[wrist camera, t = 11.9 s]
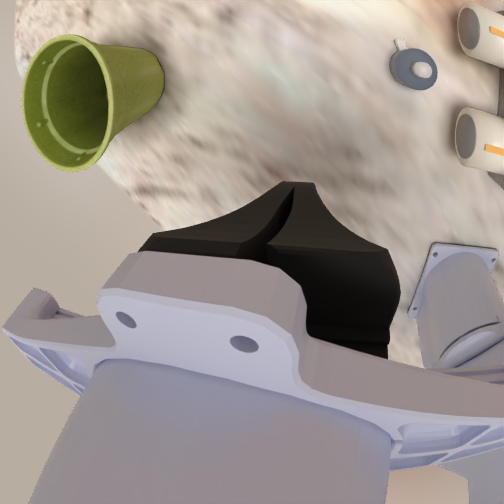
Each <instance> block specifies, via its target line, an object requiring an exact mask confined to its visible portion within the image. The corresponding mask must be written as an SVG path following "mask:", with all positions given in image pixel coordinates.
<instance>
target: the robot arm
mask: <svg viewBox="0 0 504 504" xmlns="http://www.w3.org/2000/svg"><path fill="white" fill-rule="evenodd" d="M435 252H437V253H436V254H434V253H435ZM498 257H499V252H498V250H496V249H488V248H479V247H470V246H461V245H451V244H441V243H435V244H433V245H432V247H431V250H430V253H429V256H428V259H427V262H426V265H425V268H424V271H423V274H422V277H421V280H420V283H419V285H418V288H417V291H416V293H415V296H414V298H413V301H412V304H411V306H410V308H409V311H408V317H410V318H416V321H417V327H418V333H419V340H420V347H421V354H422V361H423V364H424V367H425V369H423V368H419V367H415V366H411V365H407V364H403V363H399V362H395V361H392V360H388V348H387V345H388V344H389V342H390V330H389V328H390V325H391V323H392V320H393V317H394V315H395V312H396V310H397V307H398V304H399V300H400V294H401V291H400V283H399V278H398V275H397V271H396V269H395V266H394V263H393V261H392V259H391V256H390V254H389V252H388V250H387V249H386V248H383V247H381V246H378V245H376V244H374V243H371V242H369V241H367V240H365V239H363V238H361V237H360V236H358V235H356V234H355V233H353V232H351V231H350V230H349V229H347V228H346V227H345V226H343V225H342V224H341V223H340V222H339V221H337V220H336V219H335V218H334V217H333V215H332V214H331V213H330V212H329V210H328V209H327V208H326V206H325V205H324V203H323V202H322V200H321V198H320V197H319V195H318V193H317V190H316V186H315V184H314V183H309V182H286V181H283V182H281V183H279V184H278V185H276V186H275V187H273V188H272V189H270V190H269V191H268V192H266V193H265V194H263V195H262V196H260V197H259V198H257V199H255V200H254V201H252V202H250V203H249V204H247V205H245V206H244V207H242V208H240V209H238V210H236V211H233V212H231V213H229V214H227V215H224V216H221V217H219V218H216V219H213V220H210V221H208V222H204V223H201V224H197V225H194V226H190V227H185V228H181V229H176V230H170V231H164V232H158V233H153V234H152V235H151V236H150V237H149V239H148V240H147V241H146V242H145V243H144V245H143V246H142V247H141V248H140V249H139V251H138V252H137V253H132V254H129V255H128V256H127V257H126V259H125V260H124V261H123V262H122V263H121V265H120V266H119V267H118V268H117V269H116V271H115V272H114V273H113V275H112V276H111V277H110V278H109V279H108V281H107V282H106V283H105V285H104V286H103V287H102V288H101V290H100V292H99V294H98V296H97V298H96V303H97V307H98V309H99V312H100V315H99V316H83V315H79V314H76V313H73V312H70V311H68V310H65V309H62V308H59V305H58V303H57V301H56V300H55V298H54V297H53V296H52V295H51V294H50V293H48V292H47V291H44V290H41V289H38V288H33V289H32V290H31V292H30V293H29V294H28V295H27V296H26V298H25V299H24V300H23V301H22V302H21V304H20V305H19V306H18V307H17V309H16V310H15V311H14V312H13V314H12V315H11V316H10V317H9V319H8V320H7V321H6V323H5V324H4V325H3V327H2V330H3V331H4V333H5V334H6V335H7V336H8V337H9V339H10V340H11V341H12V342H13V343H14V344H15V346H16V347H17V348H18V349H19V350H20V351H21V352H22V353H23V354H24V356H25V357H26V358H27V359H28V360H29V361H30V362H31V363H32V364H33V365H34V366H35V367H37V368H38V369H39V370H41V371H42V372H44V373H45V374H47V375H49V376H50V377H52V378H53V379H55V380H56V381H57V382H59V383H61V384H62V385H64V386H65V387H67V388H68V389H70V390H71V391H73V392H74V393H76V394H78V395H79V396H80V398H79V400H78V402H77V404H76V405H75V407H74V409H73V411H72V413H71V414H70V416H69V418H68V420H67V422H66V424H65V426H64V428H63V430H62V432H61V434H60V436H59V438H58V440H57V441H56V444H55V446H54V448H53V450H52V452H51V454H50V456H49V458H48V460H47V462H46V464H45V466H44V469H43V471H42V473H41V475H40V477H39V480H38V482H37V484H36V487H35V489H34V491H33V493H32V496H31V498H30V501H29V503H28V504H385V501H386V494H387V486H388V477H389V471H397V470H405V469H412V468H419V467H425V466H431V465H436V464H437V465H438V466H439V467H441V468H444V469H446V470H448V471H451V472H453V473H456V474H458V475H460V476H463V477H465V478H466V479H468V488H469V504H504V303H503V300H502V298H501V296H500V294H499V291H498V289H497V287H496V285H495V282H494V280H493V278H492V276H491V272H492V270H493V268H494V266H495V263H496V261H497V259H498ZM493 258H494V259H493ZM414 307H415V308H414Z"/></svg>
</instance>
